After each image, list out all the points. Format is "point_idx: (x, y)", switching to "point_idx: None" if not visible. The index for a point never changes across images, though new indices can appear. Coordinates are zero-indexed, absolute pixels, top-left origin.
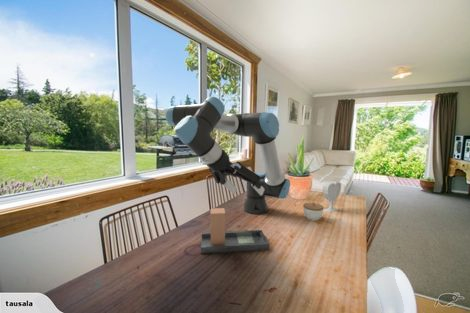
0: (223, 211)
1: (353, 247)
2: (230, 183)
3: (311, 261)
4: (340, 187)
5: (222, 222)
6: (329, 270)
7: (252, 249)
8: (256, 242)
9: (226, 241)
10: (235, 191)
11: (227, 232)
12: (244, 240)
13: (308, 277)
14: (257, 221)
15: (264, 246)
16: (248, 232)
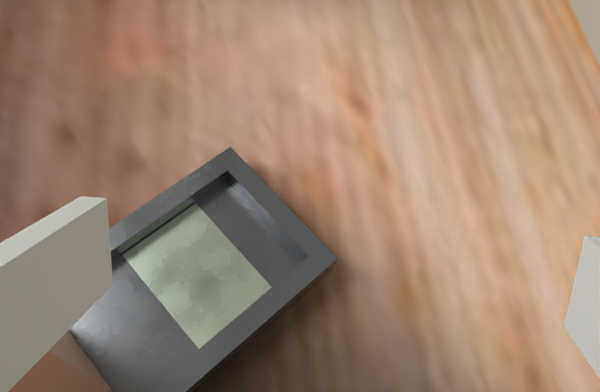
0: None
1: (577, 72)
2: (7, 287)
3: (519, 249)
4: None
5: (52, 383)
6: None
7: (268, 323)
8: (254, 253)
9: (95, 343)
10: (107, 249)
11: None
12: (188, 273)
13: (568, 367)
14: (140, 45)
15: (318, 276)
16: (178, 205)
